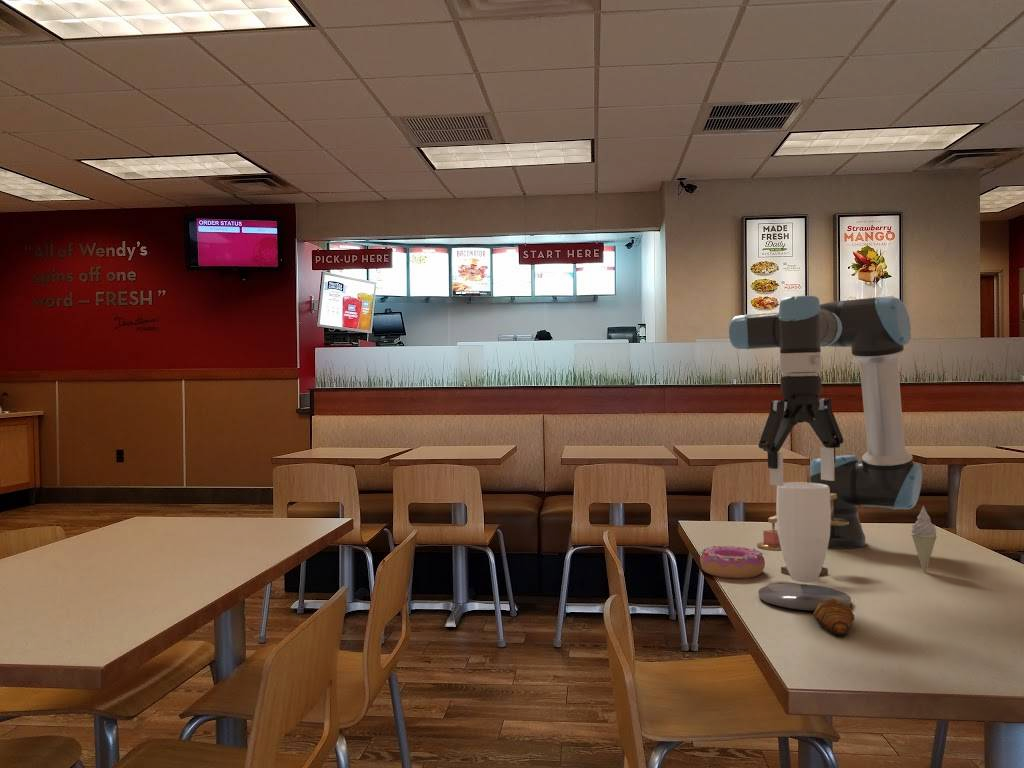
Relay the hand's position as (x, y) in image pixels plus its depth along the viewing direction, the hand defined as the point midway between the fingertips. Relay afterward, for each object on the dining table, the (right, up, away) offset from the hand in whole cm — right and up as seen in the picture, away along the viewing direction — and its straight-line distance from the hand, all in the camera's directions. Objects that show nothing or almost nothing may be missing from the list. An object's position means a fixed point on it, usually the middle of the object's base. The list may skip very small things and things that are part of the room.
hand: (802, 482), depth 150 cm
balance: (+9, -23, +21) cm, 33 cm away
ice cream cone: (+35, -23, +21) cm, 47 cm away
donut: (-7, -24, +24) cm, 34 cm away
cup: (0, -22, 0) cm, 22 cm away
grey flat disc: (0, -23, 0) cm, 23 cm away
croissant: (-1, -24, -16) cm, 28 cm away
